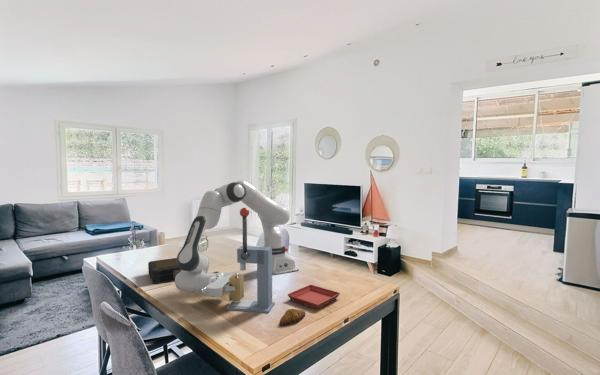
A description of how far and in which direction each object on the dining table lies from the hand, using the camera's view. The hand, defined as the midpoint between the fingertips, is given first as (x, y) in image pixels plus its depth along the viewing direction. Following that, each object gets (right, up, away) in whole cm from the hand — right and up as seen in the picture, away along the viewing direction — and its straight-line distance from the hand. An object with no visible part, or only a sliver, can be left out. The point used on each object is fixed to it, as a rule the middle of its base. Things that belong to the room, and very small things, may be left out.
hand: (238, 285), depth 148 cm
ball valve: (-39, -5, +67) cm, 78 cm away
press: (+6, -9, -2) cm, 11 cm away
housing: (-1, -6, +1) cm, 6 cm away
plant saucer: (+34, -9, +6) cm, 36 cm away
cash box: (-44, -7, +40) cm, 60 cm away
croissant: (+25, -10, -15) cm, 30 cm away
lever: (+4, +14, -8) cm, 16 cm away
